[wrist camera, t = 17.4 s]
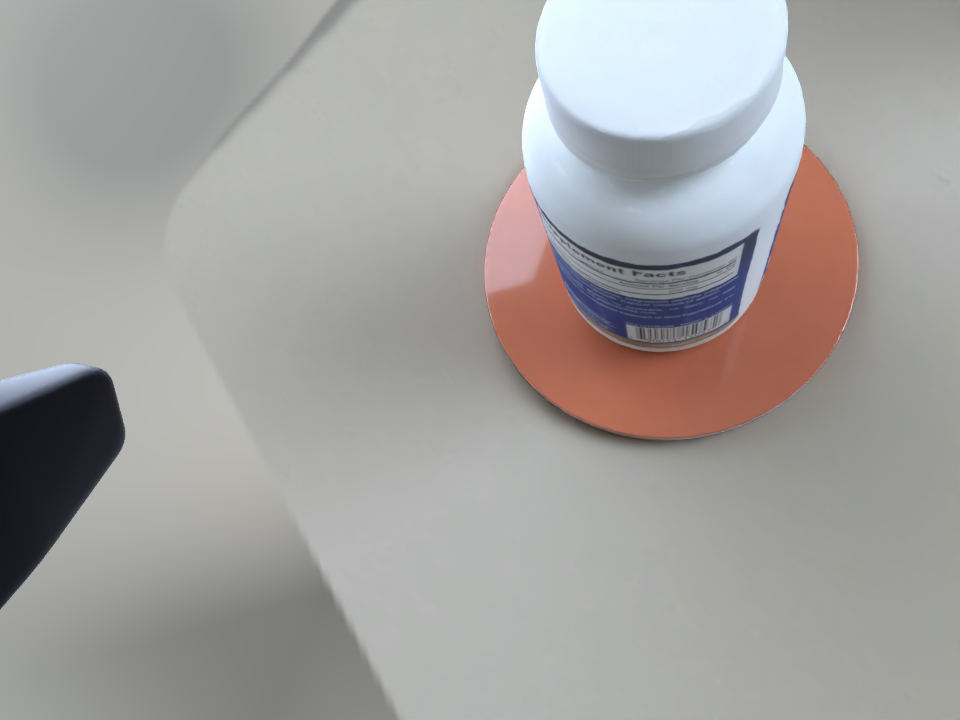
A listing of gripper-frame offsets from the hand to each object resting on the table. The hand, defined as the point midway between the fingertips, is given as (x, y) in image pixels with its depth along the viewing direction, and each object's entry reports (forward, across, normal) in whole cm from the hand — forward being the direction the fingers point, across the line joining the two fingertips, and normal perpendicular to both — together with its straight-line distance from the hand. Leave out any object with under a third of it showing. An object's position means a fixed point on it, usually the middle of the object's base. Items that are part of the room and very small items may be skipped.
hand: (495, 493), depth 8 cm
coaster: (+15, 0, +4) cm, 16 cm away
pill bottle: (+15, 0, +4) cm, 16 cm away
